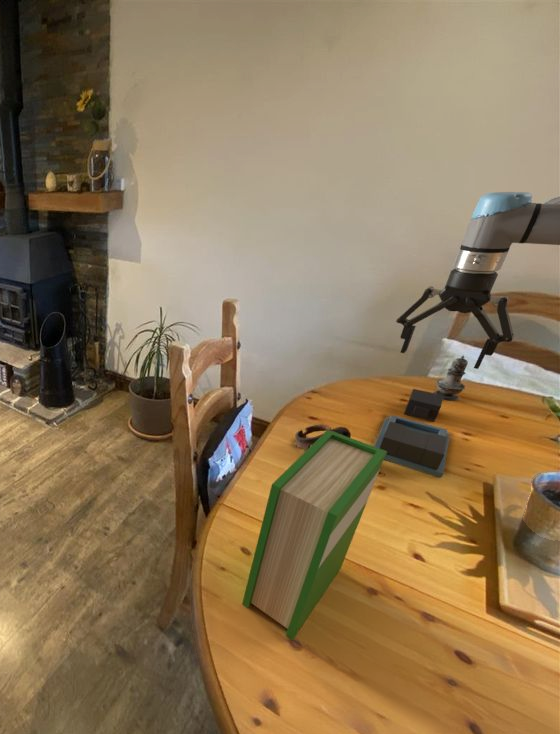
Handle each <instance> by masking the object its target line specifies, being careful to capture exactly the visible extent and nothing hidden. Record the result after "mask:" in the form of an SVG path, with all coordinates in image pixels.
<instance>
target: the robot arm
mask: <svg viewBox="0 0 560 734" xmlns="http://www.w3.org/2000/svg"><path fill="white" fill-rule="evenodd" d="M532 199H533V194H532V193H531V192H528V191H527V192H526V191H498V192H497V191H496V192H489V193H486V194H484V195H482V196H481V197H480V198H479V200H478V201H477V204H476V206H475V209H474V211H473V213H472V215H471V218H470V220H469V223H468V226H467V228H466V231H465V234H464V236H463V239H462V242H461V245H460V247H459V250H458V251H457V254H456V257H455V260H454V262H453V265H452V267H454V268H453V269H452V270H450V273H449V275H448V278H447V280H446V283H445V286H444V287H443V288H442V289H438V288H434V286H430V285H429V286H428V287H426V289H425V290H424V291H423V293H422V295H421V297H420V298H419V299H418V300H416V301H415V303H413V304H412V305H411V306H409V308H408V309H406V311H404V312H403V313H402V314H401V315H400V316H399V317H398V318H396V320H395V322H396V323H397V324H400V325H402V326H403V328H402V331H401V333H400V339H401V340H404V341H403V343H402V346H401V347H402V348H401V349H400V353H401V354H405V353H406V352H407V351H408V349H409V346H410V343H411V341H412V338H413V335H414V332H415V329H416V327H417V326H416V325H415V324H418V323H419V322H421V321H423V320H424V319H426V318H428V317H430V316H432V315H434V314H435V313H438V312H439V311H441V310H443V309H446V310H447V311H448V312H458V313H460V314H461V313H462V314H469V313H472V315H473V316H474V317H475V318H476V320H477V321H478V323H479V324H480V326H481V327H482V329H483V330H484V332H485V334H486V335H487V337H488V338H487V339H486V341H485V342H484V345H483V346H482V348H481V351H480V353H479V355H478V358H477V360H476V362H475V364H474V366H473V369H476V370H479V368H480V366H481V364H482V362H483V361H484V358H485V356H491V357H492V355H493V354H494V353H495V351H496V349H497V347H498V345H499V343H502V342H504V343H505V342H506V343H511V342H512V341H513V339H514V337H515V334H514V331H513V326H512V322H511V319H510V318H511V317H510V314H509V310H508V303H509V299H510V296H509V295H506V294H504V295H502V296H500V295H499V296H497V295H491V291H492V289H493V287H494V286H495V282H496V280H497V278H498V276H499V274H498V271H500V270H501V269H502V268H503V265H504V262H505V261H506V258H507V256H508V253H509V251H510V248H511V246H512V244H530V245H533V244H534V245H549V246H551V245H552V246H560V196H557V197H554V198H551V199H549V200H547V201H545V202H544V203H542V202H541V203H537V202H533V200H532ZM436 296H438V297H439V299H440V302H438V303H437V304H435V305H434V306H432V307H430V308H428V309H426V310H424V311H423V312H421V313H420V314H417V315H416V316H413V317H412V318H410V319H408V317H409V316H411V314H413V313H414V312H415V311H416V310H417V309H418V308H420V307H421V306H422V305H423V304H424V303H425V302H426V301H427V300H429V299H433V298H434V297H436ZM488 303H492V305H493V307H495V308H496V311H497V317H498V321H499V324H500V325H499V326H500V328H501V333H502V334H500V333H499V331H498V330H497V328H496V327H495V325H494V324H493V322H492V320H491V319H490V317H489V315H488V313H486V311H485V309H484V307H483V306H485V305H487V304H488Z"/></svg>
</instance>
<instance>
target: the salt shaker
mask: <svg viewBox="0 0 560 734" xmlns="http://www.w3.org/2000/svg"><path fill="white" fill-rule="evenodd" d="M468 364H469V362H468V360H467V359H465V356H464V355H461V356H460V357H458V358H455V359H453V360H452V363H451V365H450V367H449V368H448V369H446V370H447V374H446V375H445V378H443V379H441V378H440V379H437V380H436V381H435V383H436V389H437V390H435V391H433V392H432V393H434V394H439V395H443V400H444V401H451V402H453V401H454V402H455V401H458V400H459V399H460V397H459V396H458V394H460V393H462V391H463V390H465V389H466V385H464V383H462V378H463V376H464V375H466V372H465V370H466V368H467V367H468Z"/></svg>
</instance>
